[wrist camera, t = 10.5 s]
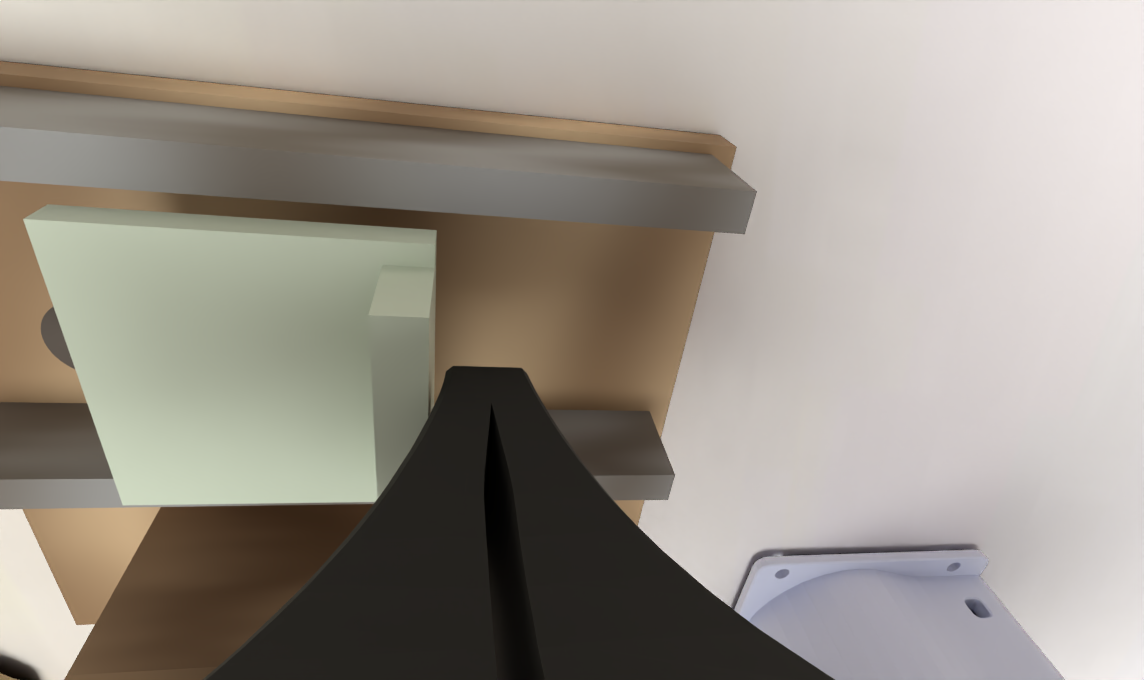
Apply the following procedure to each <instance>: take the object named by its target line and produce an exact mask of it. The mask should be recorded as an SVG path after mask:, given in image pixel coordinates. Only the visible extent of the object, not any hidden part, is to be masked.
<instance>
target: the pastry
mask: <svg viewBox="0 0 1144 680" xmlns="http://www.w3.org/2000/svg"><path fill="white" fill-rule="evenodd" d="M0 680H18V679H14V678H11V677H8V676H6V675H4V674H1V673H0Z"/></svg>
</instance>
